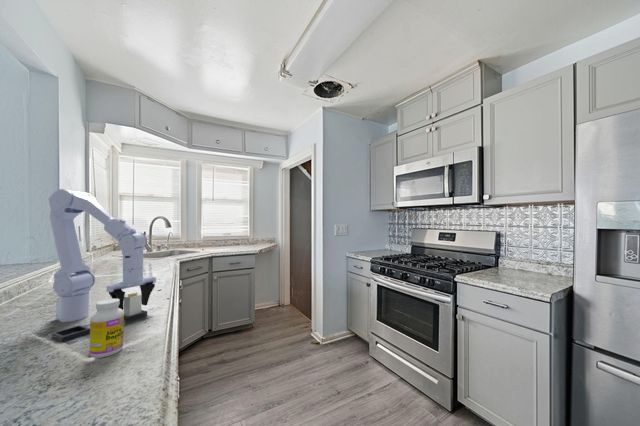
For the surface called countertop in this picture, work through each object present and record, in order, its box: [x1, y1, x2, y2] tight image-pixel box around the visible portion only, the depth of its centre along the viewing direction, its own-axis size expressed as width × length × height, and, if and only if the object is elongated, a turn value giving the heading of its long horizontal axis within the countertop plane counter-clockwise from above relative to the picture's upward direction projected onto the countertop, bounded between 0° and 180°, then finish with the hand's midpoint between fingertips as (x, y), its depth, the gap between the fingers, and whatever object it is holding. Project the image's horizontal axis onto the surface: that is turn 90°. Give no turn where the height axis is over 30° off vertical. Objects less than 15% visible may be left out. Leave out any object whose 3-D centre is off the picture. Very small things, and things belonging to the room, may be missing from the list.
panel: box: [46, 309, 155, 346], centre depth 81 cm, size 14×22×2 cm, turn 154°
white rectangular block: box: [123, 292, 142, 316], centre depth 88 cm, size 4×4×8 cm
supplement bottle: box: [89, 298, 125, 359], centre depth 66 cm, size 7×7×13 cm
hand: (132, 308), depth 88 cm, fingers open, 7 cm apart
